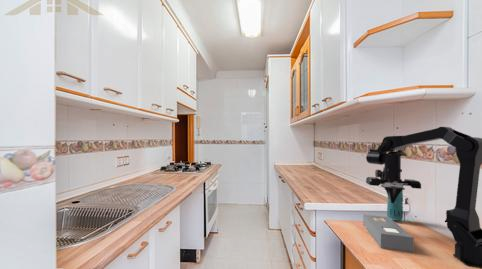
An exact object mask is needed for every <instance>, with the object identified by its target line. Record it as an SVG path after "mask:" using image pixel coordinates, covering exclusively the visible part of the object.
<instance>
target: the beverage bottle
mask: <svg viewBox="0 0 482 269" xmlns="http://www.w3.org/2000/svg"><path fill="white" fill-rule="evenodd" d="M391 187H392V186H391ZM403 192H404V190H402V191H401V192H400V194H399V195H398V196H397V198H396V200H395V202H394V203H391V202H390V200H389V197H388V196H387V206H386V217H389V218H390V219H392V220H394V221H395V220H397V221H402V220H403V218H404V216H403V215H404V202H403V201H404V193H403Z"/></svg>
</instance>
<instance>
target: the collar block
mask: <svg viewBox="0 0 482 269" xmlns="http://www.w3.org/2000/svg"><path fill="white" fill-rule="evenodd" d="M373 217H374V218H383V219H384V220H386V221H387V222H384V221H375V220H374V219H373ZM363 225H364V226H365V227H366V229H367V230H368V231H367V230H366V229H365V230H366V231H367V233H368V234H369V233H370V234H371V235H370V234H369V235H370V236H371V238H372V239H373V238H374V239H373V240H374V241H375V243H376V244H377V245H378V246H379V248H381V249H385V250H386V249H388V250H392V251H393V250H395V251H400V252H401V251H403V252H410V253H414V250H415V249H414V248H415V246H414V245H415V244H414V241H415V240H414V239H415V238H414V236H413V235H412V234H410V233H409V232H407V230H405V229H404V228H403V227H401V225H399V224H398V223H397V222H396V221H395V220H394V219H391V218H389V217H387V215H386V216H385V215H376V214H375V215H373V214H362V226H363ZM364 226H363V227H364ZM365 227H364V228H365ZM383 228H392V229H396V230H397V231H398V232H399V233H392V232H386V231H385V230H384V229H383Z"/></svg>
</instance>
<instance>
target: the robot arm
mask: <svg viewBox="0 0 482 269" xmlns="http://www.w3.org/2000/svg"><path fill="white" fill-rule="evenodd" d="M438 140H443V141H444V142H446V143H447V144H449V145H450V146H452V147H454V148H455V154H456V158H457V160H458V162H459V171H458V178H457V179H458V181H457V188H456V189H457V190H456V196H455V197H456V199H455V206H454V208H453V209H448V210H446V211H445V215H446V216H445V220H444V223H446V227H447V229H448V230H449V231H450V233H451V234H452V237H453V240H454V241H455V242H456V243H454V253H453V254H452V256H453V257H455V258H456V259H458V261H460V262H461V263H463V264H464V265H466V266H467V267H468V266H469V267H477V268H482V228H481V224H480V217H479V215H478V212H477V210H476V206H477V205H476V204H477V197H478V187H479V181H480V179H479V178H480V169H481V166H482V137H473V136H471V135H468V134H465V133H463V132H461V131H458V130H456V129H454V128H452V127H449V126H439V127H436V128H432V129H429V130H423V131H420V132H416V133H411V134H406V135H387V136H385V137H383V139H382V142H381V143H380V144H379V146H378V147H377V149H376V148H370V149H369V152H367V154H366V156H365V159H366V162H367V163H368V164H372V165H381V166H382V165H384V167H383V170H382V169H375V171H374V172H375V173H374V174H375V177H374V176H368V177H366V179H365V183H366V184H367V185H369V186H374V187H376V186H377V187H378V186H380V187H381V188H384V190H385V192H386V195H387V198H388V197H389V200H390V202H391V203H394V202H395V200H396V198H397V196H398V195H399V194H400V192H401V191H402V190H403V191H404V190H405V189H406V188H405V187H404V186H408V187H410V188H412V189H418V190H419V189H421V190H422V183H421V181H419V180H416V179H407V178H406V179H405V178H404V180H402V179H401V176H402V175H401V174H402V172H403V169H401V162H402V160H401V159H402V157H406V156H407V153H405V152H404V151H403V150H402V149H405V148H407V147H409V146H412V145H417V144H421V143H422V144H423V143H427V142H433V141H438ZM391 186H392V187H391Z"/></svg>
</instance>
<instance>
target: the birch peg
mask: <svg viewBox="0 0 482 269" xmlns="http://www.w3.org/2000/svg"><path fill="white" fill-rule="evenodd" d="M373 219H374V220H375V221H384V222H387V221H386V220H384V219H383V218H374V217H373Z"/></svg>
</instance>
